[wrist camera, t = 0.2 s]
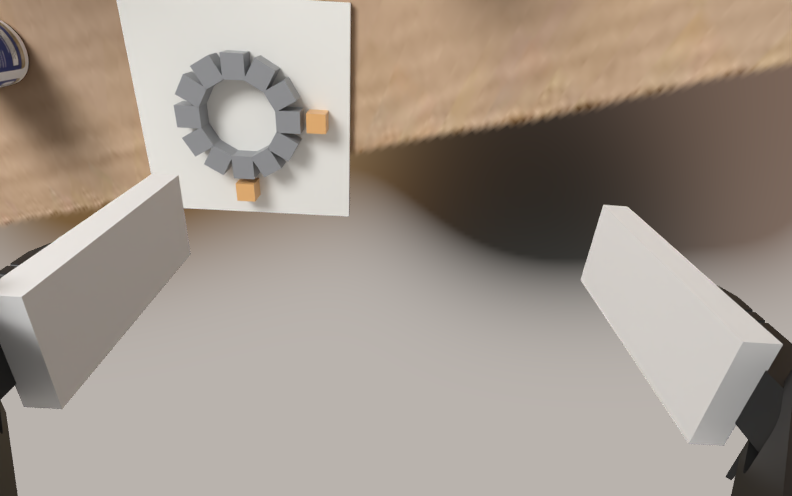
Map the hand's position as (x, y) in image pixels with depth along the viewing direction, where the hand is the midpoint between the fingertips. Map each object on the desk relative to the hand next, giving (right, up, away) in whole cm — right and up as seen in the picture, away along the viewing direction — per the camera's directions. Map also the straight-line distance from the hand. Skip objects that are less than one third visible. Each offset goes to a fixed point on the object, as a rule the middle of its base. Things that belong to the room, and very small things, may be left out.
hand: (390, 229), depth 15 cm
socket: (-13, +11, +26) cm, 31 cm away
